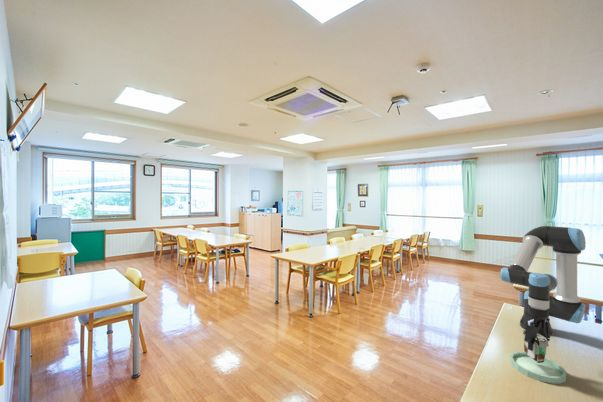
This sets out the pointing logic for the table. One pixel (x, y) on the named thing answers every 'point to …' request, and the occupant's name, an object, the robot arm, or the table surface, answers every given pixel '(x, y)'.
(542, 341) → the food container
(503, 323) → the table surface
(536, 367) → the tray
